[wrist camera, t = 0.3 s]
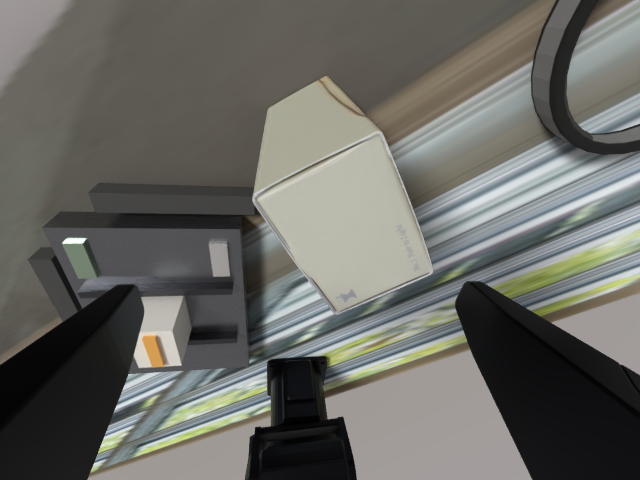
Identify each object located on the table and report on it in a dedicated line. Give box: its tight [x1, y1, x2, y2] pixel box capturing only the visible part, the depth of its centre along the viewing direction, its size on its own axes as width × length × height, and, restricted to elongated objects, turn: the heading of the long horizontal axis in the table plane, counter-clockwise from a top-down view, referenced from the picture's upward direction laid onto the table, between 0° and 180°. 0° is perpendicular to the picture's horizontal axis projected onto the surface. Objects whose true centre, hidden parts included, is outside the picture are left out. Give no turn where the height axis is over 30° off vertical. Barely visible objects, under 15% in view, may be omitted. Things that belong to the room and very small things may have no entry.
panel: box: [42, 212, 250, 374], centre depth 25 cm, size 16×12×3 cm
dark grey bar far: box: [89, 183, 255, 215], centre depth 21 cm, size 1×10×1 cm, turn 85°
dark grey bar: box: [28, 248, 82, 321], centre depth 24 cm, size 10×1×1 cm, turn 175°
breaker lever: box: [134, 296, 192, 368], centre depth 23 cm, size 4×3×4 cm
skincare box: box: [252, 76, 433, 315], centre depth 15 cm, size 6×4×12 cm
